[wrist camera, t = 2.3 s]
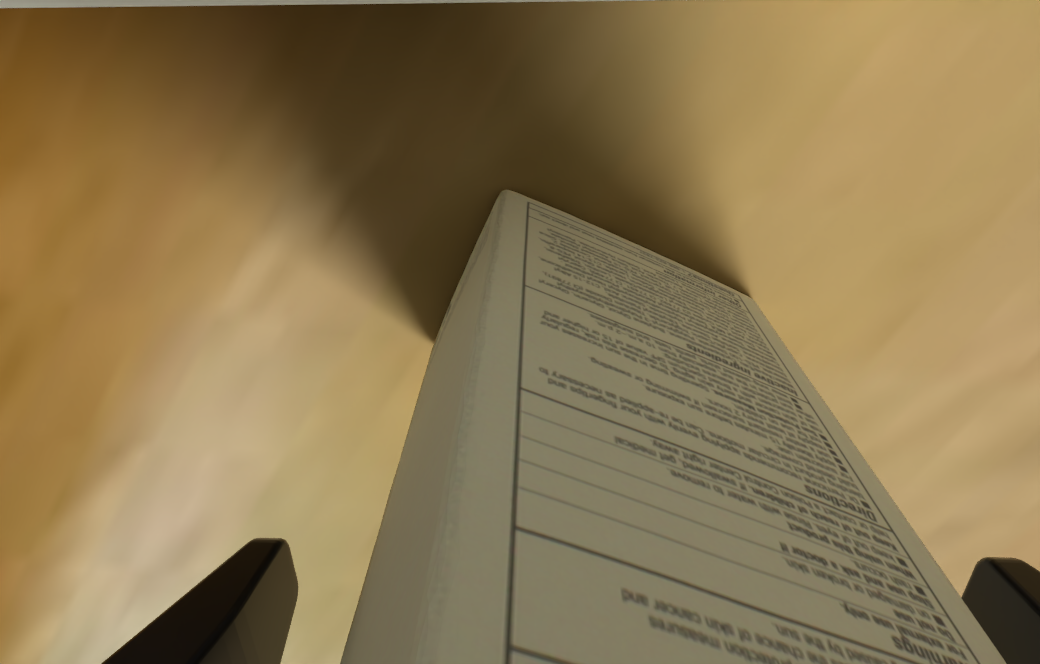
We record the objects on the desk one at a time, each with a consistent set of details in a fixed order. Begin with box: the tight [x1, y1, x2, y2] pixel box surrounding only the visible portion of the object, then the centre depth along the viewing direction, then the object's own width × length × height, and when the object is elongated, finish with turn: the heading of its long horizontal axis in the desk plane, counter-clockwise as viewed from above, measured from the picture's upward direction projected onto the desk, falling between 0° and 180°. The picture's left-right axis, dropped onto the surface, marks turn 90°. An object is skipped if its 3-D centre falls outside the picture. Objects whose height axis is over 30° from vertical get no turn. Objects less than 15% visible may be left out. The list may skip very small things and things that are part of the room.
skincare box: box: [340, 190, 1007, 664], centre depth 9 cm, size 6×4×12 cm
